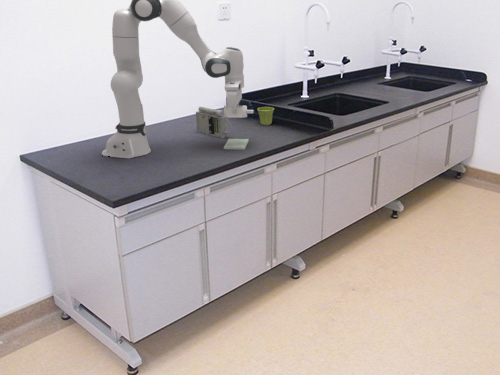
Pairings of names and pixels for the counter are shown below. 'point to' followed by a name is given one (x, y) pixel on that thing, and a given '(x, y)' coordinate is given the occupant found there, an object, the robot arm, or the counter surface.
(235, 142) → the green mat
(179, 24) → the robot arm
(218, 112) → the geiger counter
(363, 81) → the counter surface
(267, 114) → the plant pot
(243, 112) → the connector
